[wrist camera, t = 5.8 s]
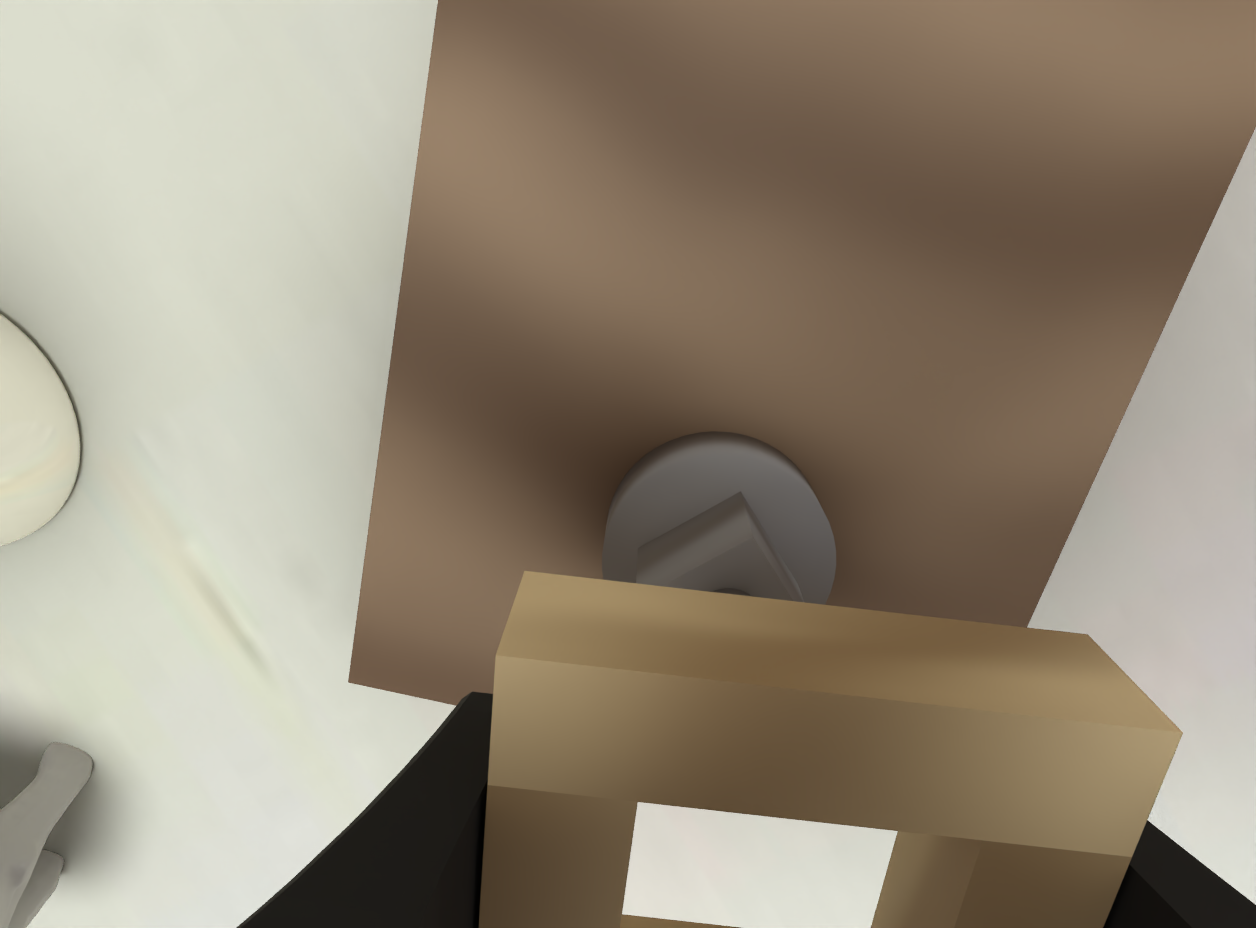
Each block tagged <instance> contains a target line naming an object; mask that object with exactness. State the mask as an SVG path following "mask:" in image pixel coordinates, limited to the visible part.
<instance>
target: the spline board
mask: <svg viewBox="0 0 1256 928" xmlns="http://www.w3.org/2000/svg"><path fill="white" fill-rule="evenodd" d="M1255 127H1256V0H438V5H437V13H436V20H435V28H434V35H433V43H432V51H431V58H430V66H429V73H428V81H427V88H426V96H425V104H424V111H423V119H422V126H421V134H420V142H419V149H418V157H417V164H416V172H415V180H414V187H413V195H412V202H411V210H410V217H409V225H408V233H407V240H406V248H405V255H404V263H403V271H402V278H401V286H400V293H399V301H398V309H397V316H396V324H395V331H394V339H393V346H392V354H391V362H390V369H389V377H388V384H387V392H386V400H385V407H384V415H383V422H382V430H381V438H380V445H379V453H378V460H377V468H376V476H375V483H374V491H373V498H372V506H371V513H370V521H369V529H368V536H367V544H366V551H365V559H364V567H363V574H362V582H361V589H360V597H359V605H358V612H357V620H356V627H355V635H354V642H353V650H352V658H351V665H350V673H349V680H348V682H349V683H354V684H358V685H363V686H368V687H372V688H377V689H382V690H386V691H391V692H396V693H400V694H405V695H410V696H414V697H419V698H424V699H428V700H433V701H438V702H443V703H447V704H452V705H457V704H458V703H459V702H460V700H461V699H462V698H464V697H465V696H466V695H468V694H469V693H471V692H481V693H490V694H493V689H494V673H495V657H496V653H497V650H498V647H499V644H500V641H501V638H502V635H503V632H504V629H505V626H506V624H507V621H508V618H509V615H510V612H511V609H512V606H513V603H514V600H515V597H516V594H517V592H518V589H519V586H520V583H521V580H522V577H523V574H524V571H531V572H540V573H549V574H557V575H566V576H575V577H584V578H593V579H602V580H610V581H619V582H628V583H637V584H646V585H655V586H663V587H672V588H681V589H690V590H699V591H708V592H716V593H725V594H734V595H743V596H752V597H761V598H769V599H778V600H787V601H796V602H805V603H814V604H822V605H831V606H840V607H849V608H858V609H867V610H875V611H884V612H893V613H902V614H911V615H920V616H928V617H937V618H946V619H955V620H964V621H973V622H981V623H990V624H999V625H1008V626H1017V627H1026V628H1027V626H1028V623H1029V621H1030V619H1031V617H1032V615H1033V612H1034V610H1035V608H1036V606H1037V604H1038V601H1039V599H1040V597H1041V595H1042V593H1043V591H1044V588H1045V586H1046V584H1047V582H1048V580H1049V577H1050V575H1051V573H1052V571H1053V569H1054V567H1055V564H1056V562H1057V560H1058V558H1059V556H1060V553H1061V551H1062V549H1063V547H1064V545H1065V542H1066V540H1067V538H1068V536H1069V534H1070V532H1071V529H1072V527H1073V525H1074V523H1075V521H1076V518H1077V516H1078V514H1079V512H1080V510H1081V508H1082V505H1083V503H1084V501H1085V499H1086V497H1087V494H1088V492H1089V490H1090V488H1091V486H1092V484H1093V481H1094V479H1095V477H1096V475H1097V473H1098V470H1099V468H1100V466H1101V464H1102V462H1103V459H1104V457H1105V455H1106V453H1107V451H1108V449H1109V446H1110V444H1111V442H1112V440H1113V438H1114V435H1115V433H1116V431H1117V429H1118V427H1119V425H1120V422H1121V420H1122V418H1123V416H1124V414H1125V411H1126V409H1127V407H1128V405H1129V403H1130V400H1131V398H1132V396H1133V394H1134V392H1135V390H1136V387H1137V385H1138V383H1139V381H1140V379H1141V376H1142V374H1143V372H1144V370H1145V368H1146V366H1147V363H1148V361H1149V359H1150V357H1151V355H1152V352H1153V350H1154V348H1155V346H1156V344H1157V342H1158V339H1159V337H1160V335H1161V333H1162V331H1163V328H1164V326H1165V324H1166V322H1167V320H1168V317H1169V315H1170V313H1171V311H1172V309H1173V307H1174V304H1175V302H1176V300H1177V298H1178V296H1179V293H1180V291H1181V289H1182V287H1183V285H1184V283H1185V280H1186V278H1187V276H1188V274H1189V272H1190V269H1191V267H1192V265H1193V263H1194V261H1195V259H1196V256H1197V254H1198V252H1199V250H1200V248H1201V245H1202V243H1203V241H1204V239H1205V237H1206V234H1207V232H1208V230H1209V228H1210V226H1211V224H1212V221H1213V219H1214V217H1215V215H1216V213H1217V210H1218V208H1219V206H1220V204H1221V202H1222V200H1223V197H1224V195H1225V193H1226V191H1227V189H1228V186H1229V184H1230V182H1231V180H1232V178H1233V175H1234V173H1235V171H1236V169H1237V167H1238V165H1239V162H1240V160H1241V158H1242V156H1243V154H1244V151H1245V149H1246V147H1247V145H1248V143H1249V141H1250V138H1251V136H1252V134H1253V132H1254V130H1255Z"/></svg>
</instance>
